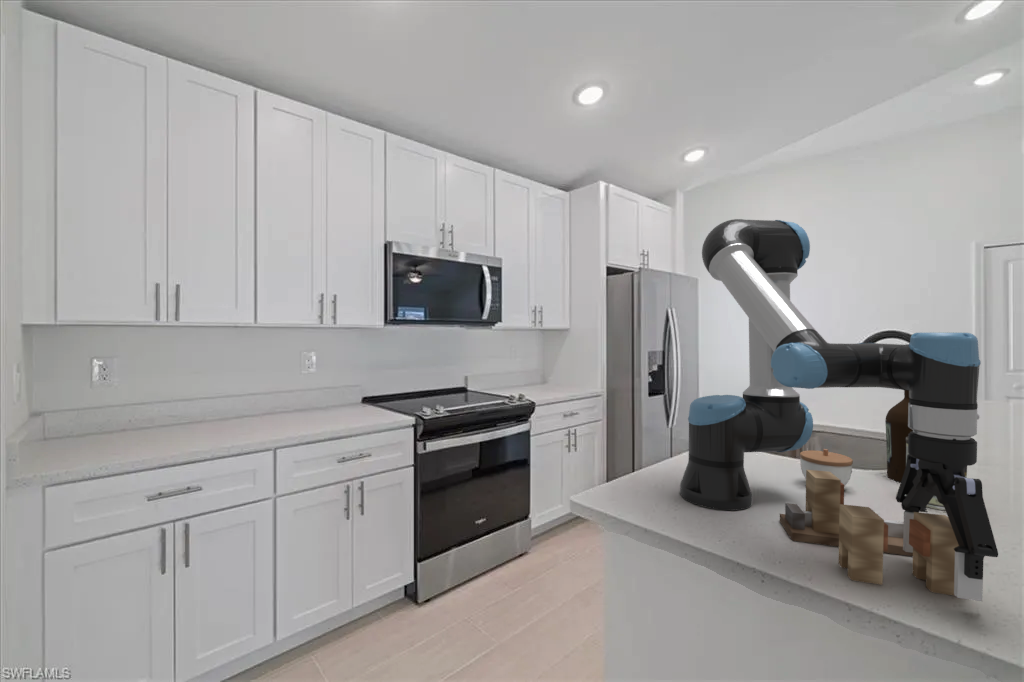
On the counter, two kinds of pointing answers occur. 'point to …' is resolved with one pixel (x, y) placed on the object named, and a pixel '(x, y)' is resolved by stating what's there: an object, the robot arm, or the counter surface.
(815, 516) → the block
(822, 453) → the lidded jar
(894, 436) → the olive oil
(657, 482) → the counter surface
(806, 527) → the rail board
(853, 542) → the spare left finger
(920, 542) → the right finger
